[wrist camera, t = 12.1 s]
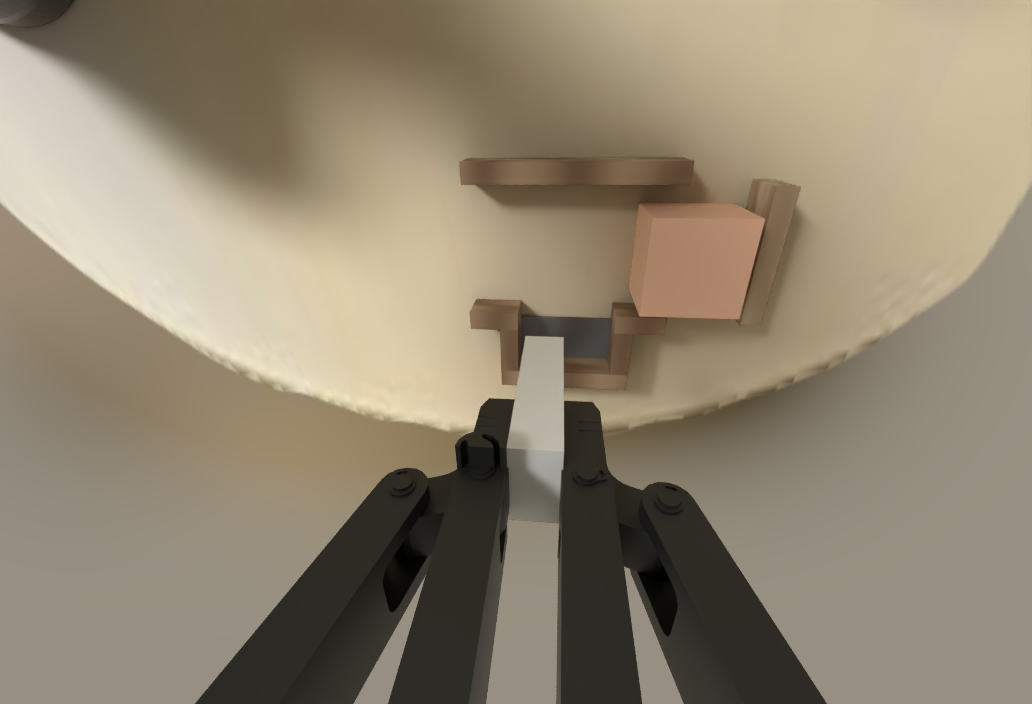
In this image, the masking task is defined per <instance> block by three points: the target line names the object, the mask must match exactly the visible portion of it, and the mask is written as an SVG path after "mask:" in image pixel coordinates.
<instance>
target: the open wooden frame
mask: <svg viewBox="0 0 1032 704" xmlns="http://www.w3.org/2000/svg"><path fill="white" fill-rule="evenodd" d="M459 163H460V177H461V185H690V182H691V176H692V170H693V165H694V161H693V160H690V159H687V158H683V157H671V158H483V159H466V160H463V161H461V162H459ZM800 188H801V187H799V186H796V185H792V184H789V183H785V182H782V181H779V180H775V179H753V182H752V186H751V190H750V195H749V199H748V203H747V207H746V210H748V211H750V212H752V213H754V214H756V215H758V216H760V217H762V218H764V219H765V221H764V225H763V229H762V233H761V237H760V241H759V245H758V248H757V252H756V256H755V260H754V264H753V268H752V272H751V275H750V279H749V283H748V287H747V291H746V295H745V299H744V303H743V306H742V310H741V314H740V318H739V319H735V320H736V321H737V322H738V324H739V325H741V326H761V323H762V320H763V316H764V313H765V309H766V306H767V302H768V299H769V296H770V292H771V289H772V285H773V282H774V278H775V275H776V271H777V268H778V264H779V261H780V258H781V254H782V251H783V247H784V244H785V240H786V237H787V233H788V230H789V226H790V223H791V220H792V216H793V213H794V209H795V206H796V202H797V199H798V195H799V192H800ZM470 322H471V329H493V330H500V341H501V371H502V385H517V383H518V377H519V372H520V366H521V360H522V354H523V348H524V342H525V336H543V337H564V387H570V388H593V389H616V390H626V382H627V375H628V367H629V360H630V352H631V345H632V337H633V334H649V335H664V333H665V327H666V322H667V317H640V316H639V314H638V312H637V309H636V306H635V304H634V303H612V313H611V319H610V318H575V317H541V316H521V300H486V299H476V301H475V303H474V305H473V307H472V309H471V311H470Z"/></svg>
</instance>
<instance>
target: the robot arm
mask: <svg viewBox="0 0 1032 704" xmlns="http://www.w3.org/2000/svg"><path fill="white" fill-rule="evenodd" d="M71 2H72V0H0V24H5V25H10V26H17V27H34V26H39V25H43V24H46V23H48V22H50V21H52V20H54V19H56V18H57V17H58V16H60V15H61V14H62V13H63V12H64V11H65V10H66V9H67V7H68V6H69V5H70V3H71ZM455 450H456V460H457V470H455V471H453V472H451V473H449V474H446V475H443V476H438V477H433V478H427V477H426V475H425V474H424V473H423V472H422V471H420V470H418V469H414V468H403V469H398V470H395V471H394V472H391V473H389V474H387V475H386V476H385V477H384V478H383V479H382V480H381V481H380V482H379V483H378V484H377V486H376V487H375V488H374V489H373V490H372V492H371V493H370V494H369V495H368V496H367V498H366V499H365V500H364V501H363V502H362V504H361V505H360V506H359V507H358V509H357V510H356V511H355V512H354V513H353V514H352V516H351V517H350V518H349V519H348V521H347V522H346V523H345V524H344V525H343V527H342V528H341V529H340V530H339V531H338V533H337V534H336V535H335V536H334V537H333V539H332V540H331V541H330V542H329V543H328V544H327V546H326V547H325V548H324V549H323V550H322V552H321V553H320V554H319V555H318V557H317V558H316V559H315V560H314V561H313V563H312V564H311V565H310V566H309V567H308V569H307V570H306V571H305V572H304V573H303V575H302V576H301V577H300V578H299V579H298V581H297V582H296V583H295V584H294V585H293V587H292V588H291V589H290V590H289V592H288V593H287V594H286V595H285V596H284V597H283V599H282V600H281V601H280V602H279V603H278V605H277V606H276V607H275V608H274V609H273V611H272V612H271V613H270V614H269V615H268V617H267V618H266V619H265V620H264V621H263V623H262V624H261V625H260V626H259V627H258V629H257V630H256V631H255V632H254V634H253V635H252V636H251V637H250V638H249V639H248V641H247V642H246V643H245V644H244V646H243V647H242V648H241V649H240V650H239V651H238V653H237V654H236V655H235V656H234V657H233V659H232V660H231V661H230V663H228V665H227V666H226V667H225V668H224V670H223V671H222V672H221V673H220V674H219V675H218V677H217V678H216V679H215V680H214V681H213V683H212V684H211V685H210V686H209V688H208V689H207V690H206V691H205V692H204V694H203V695H202V696H201V697H200V698H199V700H198V701H197V702H196V703H195V704H353V703H354V701H355V700H356V698H357V696H358V694H359V692H360V691H361V689H362V687H363V685H364V683H365V682H366V680H367V678H368V676H369V675H370V673H371V671H372V669H373V668H374V666H375V664H376V662H377V661H378V659H379V657H380V655H381V653H382V652H383V649H384V648H385V646H386V645H387V642H388V641H389V639H390V637H391V636H392V634H393V632H394V630H395V628H396V627H397V625H398V623H399V621H400V620H401V618H402V616H403V614H404V613H405V611H406V609H407V607H408V605H409V604H410V602H411V600H412V598H413V596H414V595H415V593H416V591H417V589H418V588H419V586H420V584H421V582H422V581H423V579H424V577H425V575H426V577H425V580H424V584H423V587H422V591H421V594H420V597H419V601H418V604H417V608H416V611H415V614H414V618H413V621H412V625H411V628H410V631H409V635H408V638H407V642H406V645H405V648H404V652H403V655H402V659H401V662H400V665H399V669H398V672H397V675H396V679H395V682H394V685H393V689H392V692H391V696H390V699H389V703H388V704H486V699H487V691H488V683H489V675H490V667H491V660H492V651H493V644H494V636H495V629H496V628H495V627H496V621H497V613H498V605H499V597H500V590H501V582H502V574H503V566H504V558H505V551H506V543H507V520H508V516H509V520H519V521H532V522H546V523H559V541H558V621H557V625H558V626H557V697H556V698H557V700H556V701H557V702H556V704H642V700H641V691H640V684H639V677H638V669H637V661H636V654H635V647H634V639H633V632H632V624H631V617H630V609H629V602H628V594H627V586H626V579H625V571H624V566H625V567H627V568H630V572H631V575H632V577H633V579H634V582H635V584H636V587H637V589H638V592H639V594H640V597H641V599H642V602H643V604H644V607H645V609H646V612H647V614H648V617H649V619H650V621H651V624H652V626H653V629H654V631H655V634H656V636H657V638H658V641H659V644H660V646H661V649H662V651H663V653H664V656H665V659H666V661H667V663H668V666H669V668H670V671H671V673H672V676H673V678H674V681H675V683H676V686H677V688H678V691H679V693H680V695H681V698H682V700H683V703H684V704H827V703H826V702H825V700H824V699H823V697H822V696H821V694H820V692H819V691H818V690H817V688H816V686H815V685H814V683H813V682H812V680H811V679H810V677H809V676H808V674H807V672H806V671H805V669H804V668H803V666H802V665H801V663H800V662H799V660H798V659H797V657H796V655H795V654H794V653H793V651H792V649H791V648H790V646H789V645H788V643H787V642H786V640H785V639H784V637H783V636H782V634H781V632H780V631H779V629H778V628H777V626H776V625H775V623H774V622H773V620H772V619H771V617H770V615H769V614H768V613H767V611H766V609H765V608H764V606H763V605H762V603H761V602H760V600H759V599H758V597H757V596H756V594H755V593H754V591H753V590H752V588H751V586H750V585H749V583H748V582H747V580H746V579H745V577H744V575H743V574H742V572H741V571H740V569H739V568H738V566H737V565H736V563H735V562H734V560H733V559H732V557H731V555H730V554H729V552H728V551H727V549H726V548H725V546H724V545H723V543H722V542H721V540H720V539H719V537H718V535H717V534H716V532H715V531H714V529H713V528H712V526H711V525H710V523H709V522H708V520H707V519H706V517H705V516H704V514H703V512H702V511H701V509H700V508H699V506H698V505H697V503H696V502H695V500H694V499H693V497H692V496H691V495H690V494H689V493H688V492H687V491H685V490H684V489H682V488H681V487H679V486H677V485H674V484H670V483H664V482H657V483H653V484H650V485H648V486H647V487H646V488H645V489H644V490H640V489H636V488H633V487H630V486H628V485H625V484H623V483H621V482H620V481H618V480H617V479H616V478H615V477H613V475H611V473H610V471H609V470H608V468H607V464H606V455H605V448H604V440H603V433H602V424H601V416H600V411H599V410H598V409H597V407H596V406H595V405H594V403H593V402H578V401H564V337H543V336H525V342H524V348H523V354H522V360H521V366H520V372H519V377H518V383H517V389H516V395H515V400H513V399H491V398H489V399H488V400H487V401H486V402H485V403H484V404H483V405H482V406H481V408H480V411H479V415H478V419H477V422H476V427H475V429H474V432H472V433H469V434H466V435H464V436H463V437H462V438H460V439H459V440H458V442H457V443H456V445H455ZM426 573H427V574H426Z"/></svg>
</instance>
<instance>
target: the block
mask: <svg viewBox="0 0 1032 704" xmlns="http://www.w3.org/2000/svg"><path fill="white" fill-rule="evenodd" d="M764 221H765V219H764V218H762V217H760V216H758V215H756V214H754V213H752V212H750V211H748V210H746V209H744V208H742V207H740V206H738V205H736V204H734V203H639V207H638V216H637V224H636V232H635V241H634V249H633V258H632V266H631V274H630V283H629V290H630V293H631V296H632V298H633V301H634V304H635V306H636V309H637V312H638V314H639V316H640V317H676V318H713V319H739V318H740V314H741V310H742V306H743V303H744V299H745V295H746V291H747V287H748V283H749V279H750V275H751V272H752V268H753V264H754V260H755V256H756V252H757V248H758V245H759V241H760V237H761V233H762V229H763V225H764Z"/></svg>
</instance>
